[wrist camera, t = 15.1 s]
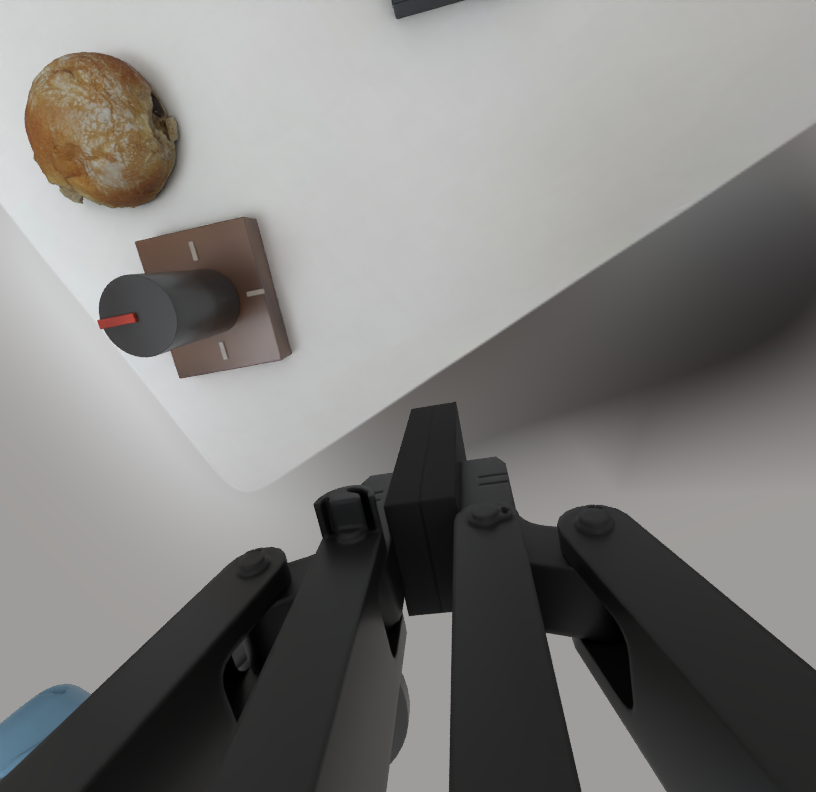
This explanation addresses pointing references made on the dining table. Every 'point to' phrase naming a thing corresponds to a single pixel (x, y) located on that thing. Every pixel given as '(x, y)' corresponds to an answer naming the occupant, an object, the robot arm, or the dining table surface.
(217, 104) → the dining table surface
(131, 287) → the dial
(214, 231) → the dial panel
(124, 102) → the bread roll
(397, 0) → the button box
